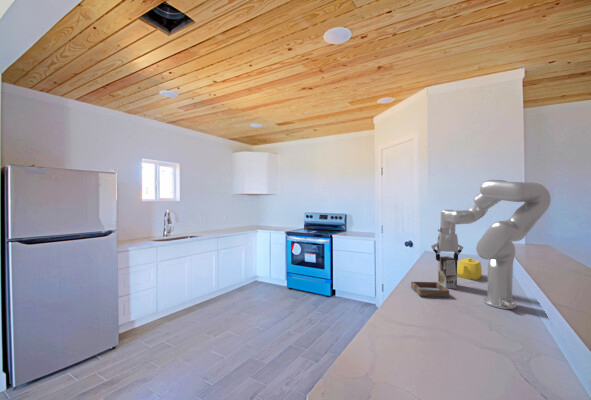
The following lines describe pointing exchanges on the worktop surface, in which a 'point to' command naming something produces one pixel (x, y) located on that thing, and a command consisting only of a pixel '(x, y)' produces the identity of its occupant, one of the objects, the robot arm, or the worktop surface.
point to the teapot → (469, 269)
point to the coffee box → (447, 272)
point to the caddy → (430, 289)
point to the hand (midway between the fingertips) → (446, 260)
